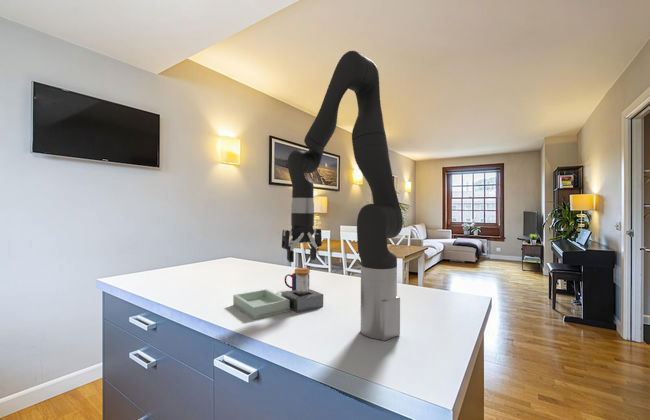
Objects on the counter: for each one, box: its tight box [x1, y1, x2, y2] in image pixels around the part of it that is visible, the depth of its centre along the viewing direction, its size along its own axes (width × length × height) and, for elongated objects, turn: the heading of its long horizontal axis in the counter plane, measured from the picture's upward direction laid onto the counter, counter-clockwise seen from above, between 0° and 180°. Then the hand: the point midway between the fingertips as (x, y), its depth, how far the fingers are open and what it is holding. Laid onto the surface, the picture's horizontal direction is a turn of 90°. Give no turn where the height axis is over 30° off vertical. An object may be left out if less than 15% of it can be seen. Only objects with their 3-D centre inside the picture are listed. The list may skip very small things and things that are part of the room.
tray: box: [232, 288, 291, 320], centre depth 96 cm, size 16×12×3 cm
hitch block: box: [280, 288, 324, 314], centre depth 99 cm, size 10×10×4 cm
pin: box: [294, 267, 311, 297], centre depth 99 cm, size 5×5×12 cm
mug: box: [284, 272, 310, 291], centre depth 117 cm, size 7×10×7 cm
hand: (302, 260), depth 99 cm, fingers open, 8 cm apart
